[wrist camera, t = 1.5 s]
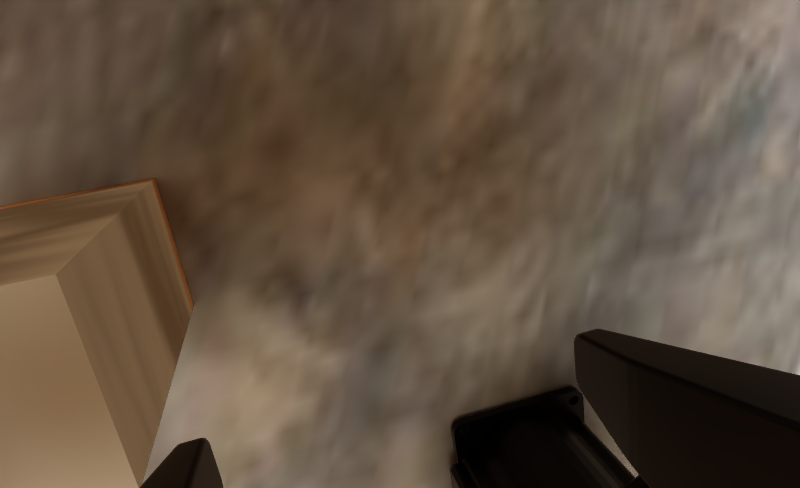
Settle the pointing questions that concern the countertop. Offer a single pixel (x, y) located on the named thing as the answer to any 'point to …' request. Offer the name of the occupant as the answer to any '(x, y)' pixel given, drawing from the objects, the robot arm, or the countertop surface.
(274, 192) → the countertop surface
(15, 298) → the birch block
